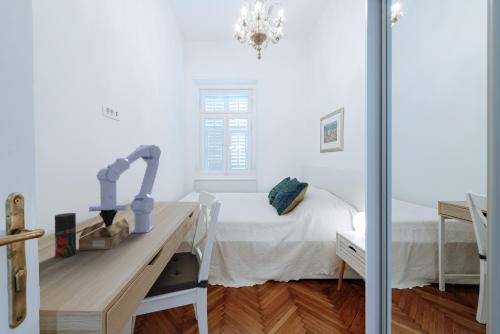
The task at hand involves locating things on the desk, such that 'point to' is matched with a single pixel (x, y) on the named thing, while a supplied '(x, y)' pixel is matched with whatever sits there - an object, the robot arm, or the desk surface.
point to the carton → (102, 239)
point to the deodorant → (65, 235)
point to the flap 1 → (92, 228)
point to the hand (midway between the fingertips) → (108, 227)
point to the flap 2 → (117, 227)
